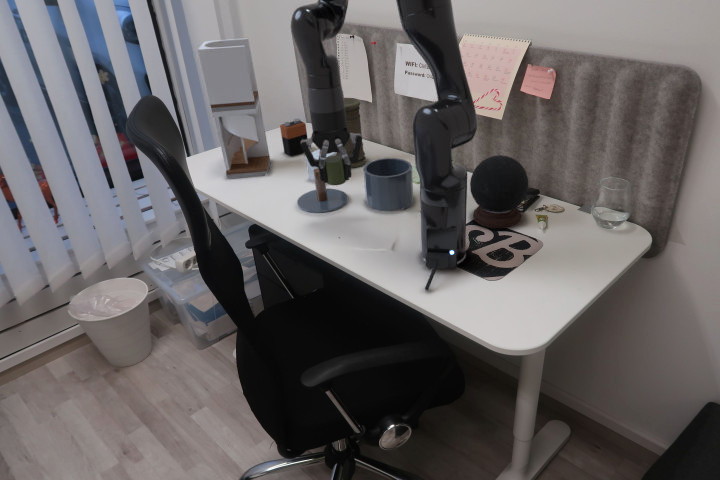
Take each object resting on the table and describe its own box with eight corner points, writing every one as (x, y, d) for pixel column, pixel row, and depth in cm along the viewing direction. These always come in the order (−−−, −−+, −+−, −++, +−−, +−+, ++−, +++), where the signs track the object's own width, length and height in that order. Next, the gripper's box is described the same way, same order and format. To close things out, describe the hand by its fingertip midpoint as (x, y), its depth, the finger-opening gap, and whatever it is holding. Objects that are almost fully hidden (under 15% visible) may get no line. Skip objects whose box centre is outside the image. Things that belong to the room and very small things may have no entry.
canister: (409, 213, 135) (407, 177, 130) (362, 212, 137) (358, 176, 132) (415, 192, 145) (414, 158, 140) (371, 191, 147) (369, 157, 141)
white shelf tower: (227, 178, 158) (197, 49, 139) (232, 164, 167) (204, 41, 147) (267, 175, 159) (243, 46, 140) (270, 161, 168) (248, 38, 148)
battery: (310, 151, 173) (305, 119, 167) (290, 157, 169) (285, 125, 164) (302, 147, 176) (298, 116, 170) (283, 153, 172) (278, 121, 167)
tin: (343, 185, 125) (340, 162, 122) (324, 185, 126) (321, 162, 123) (347, 177, 129) (345, 155, 126) (329, 177, 129) (326, 155, 127)
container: (361, 169, 159) (356, 106, 149) (332, 167, 161) (324, 106, 151) (369, 157, 167) (364, 97, 157) (340, 156, 168) (334, 96, 159)
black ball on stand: (476, 201, 139) (478, 144, 131) (529, 208, 135) (535, 149, 127) (463, 226, 129) (464, 166, 120) (520, 234, 124) (525, 172, 116)
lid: (341, 216, 136) (337, 181, 130) (291, 214, 138) (285, 180, 132) (353, 193, 146) (349, 160, 141) (306, 191, 148) (301, 159, 143)
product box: (339, 176, 155) (336, 152, 151) (325, 185, 151) (322, 159, 147) (322, 172, 158) (319, 148, 154) (308, 180, 154) (304, 155, 150)
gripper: (293, 115, 114) (306, 191, 123) (362, 107, 116) (369, 183, 125) (292, 105, 120) (304, 178, 129) (357, 98, 122) (364, 170, 131)
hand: (336, 180), depth 127 cm, fingers closed on tin, 4 cm apart
